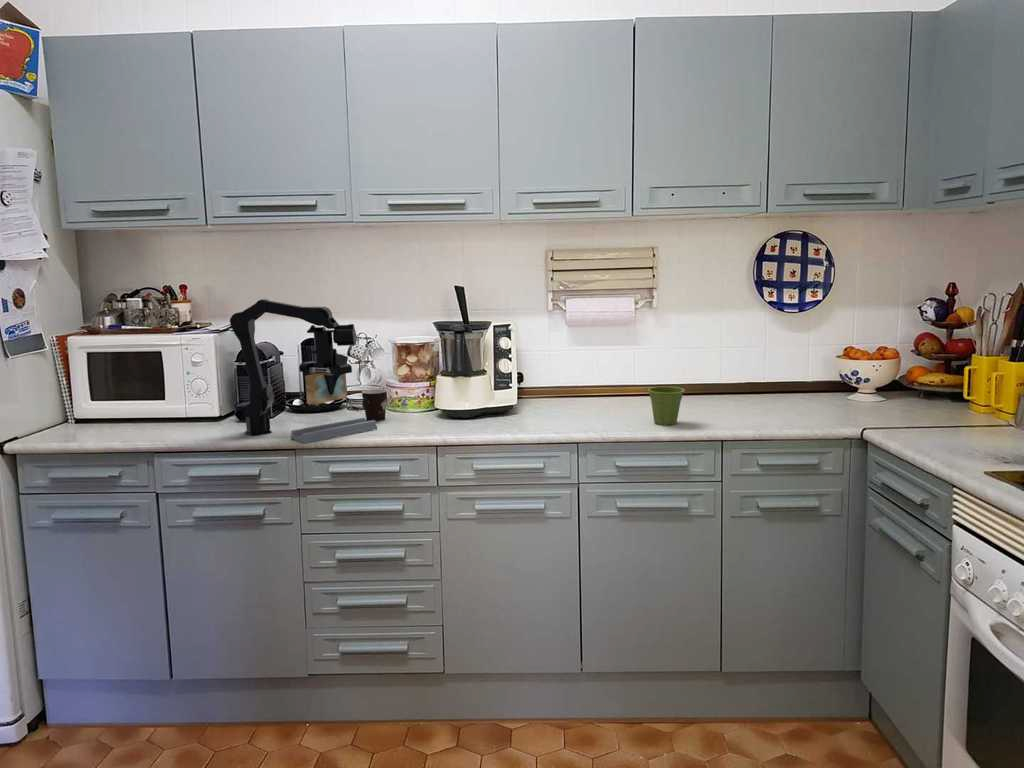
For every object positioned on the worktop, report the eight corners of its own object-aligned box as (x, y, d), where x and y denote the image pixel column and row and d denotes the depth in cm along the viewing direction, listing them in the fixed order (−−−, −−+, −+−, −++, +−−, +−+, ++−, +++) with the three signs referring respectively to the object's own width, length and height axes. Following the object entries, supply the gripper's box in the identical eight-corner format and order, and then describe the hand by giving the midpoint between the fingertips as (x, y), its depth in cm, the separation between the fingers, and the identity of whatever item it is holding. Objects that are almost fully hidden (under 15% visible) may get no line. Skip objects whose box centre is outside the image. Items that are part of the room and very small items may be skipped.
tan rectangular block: (315, 404, 244) (313, 376, 243) (307, 403, 246) (305, 375, 245) (347, 397, 255) (345, 370, 254) (339, 396, 257) (337, 369, 256)
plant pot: (650, 427, 247) (650, 392, 245) (645, 419, 259) (645, 386, 257) (687, 427, 246) (688, 392, 245) (680, 419, 258) (681, 386, 256)
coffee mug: (379, 416, 275) (377, 388, 273) (393, 419, 269) (391, 391, 267) (350, 421, 267) (349, 392, 265) (365, 424, 261) (363, 395, 259)
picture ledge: (305, 443, 236) (304, 434, 235) (291, 439, 242) (290, 430, 242) (377, 429, 253) (376, 420, 253) (362, 425, 260) (361, 417, 259)
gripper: (362, 344, 249) (365, 392, 252) (322, 342, 260) (325, 388, 262) (337, 348, 240) (340, 398, 243) (296, 346, 250) (300, 393, 253)
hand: (327, 394), depth 250 cm, fingers closed on tan rectangular block, 4 cm apart
